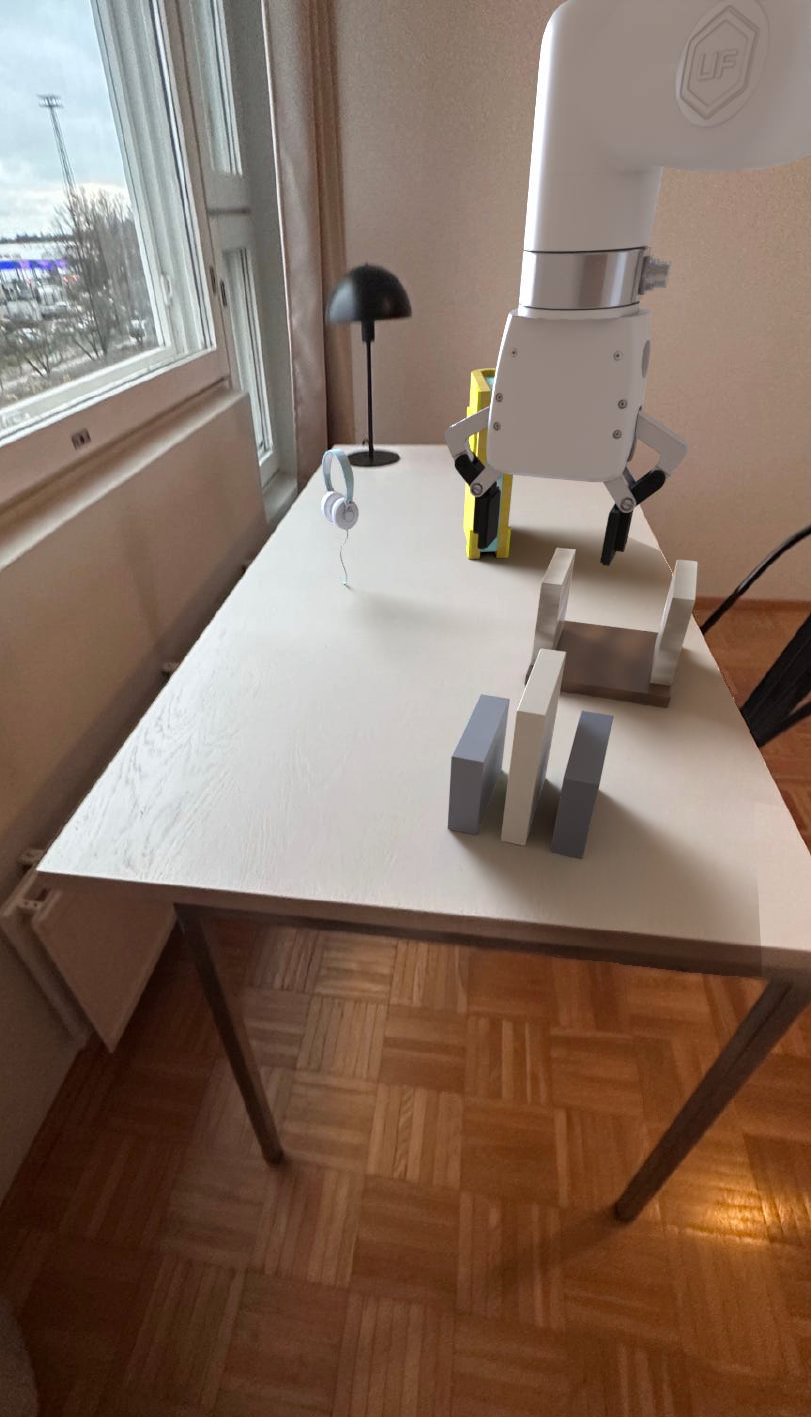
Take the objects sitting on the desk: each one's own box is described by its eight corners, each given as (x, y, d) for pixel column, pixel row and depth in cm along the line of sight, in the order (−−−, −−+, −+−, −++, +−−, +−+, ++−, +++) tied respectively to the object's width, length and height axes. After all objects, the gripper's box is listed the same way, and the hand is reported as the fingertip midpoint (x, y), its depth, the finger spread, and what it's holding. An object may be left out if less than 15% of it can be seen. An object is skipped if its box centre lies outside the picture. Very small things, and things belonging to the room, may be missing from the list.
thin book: (545, 777, 75) (566, 651, 65) (525, 846, 68) (545, 715, 58) (523, 773, 76) (540, 647, 66) (500, 840, 68) (516, 710, 58)
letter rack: (674, 644, 95) (699, 553, 87) (667, 707, 84) (695, 610, 76) (546, 628, 100) (559, 540, 92) (524, 685, 89) (536, 591, 81)
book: (508, 557, 119) (524, 389, 103) (468, 559, 120) (477, 391, 103) (495, 521, 132) (508, 367, 116) (459, 523, 132) (467, 369, 116)
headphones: (366, 590, 112) (361, 454, 99) (344, 596, 111) (336, 459, 98) (343, 572, 118) (335, 441, 105) (322, 577, 116) (311, 446, 103)
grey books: (596, 787, 74) (613, 715, 68) (582, 859, 66) (599, 785, 60) (474, 763, 77) (480, 693, 72) (447, 828, 70) (451, 756, 64)
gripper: (733, 277, 44) (667, 547, 56) (469, 279, 50) (458, 522, 62) (723, 292, 39) (652, 586, 50) (431, 292, 45) (426, 554, 57)
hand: (545, 551), depth 56 cm, fingers open, 9 cm apart
